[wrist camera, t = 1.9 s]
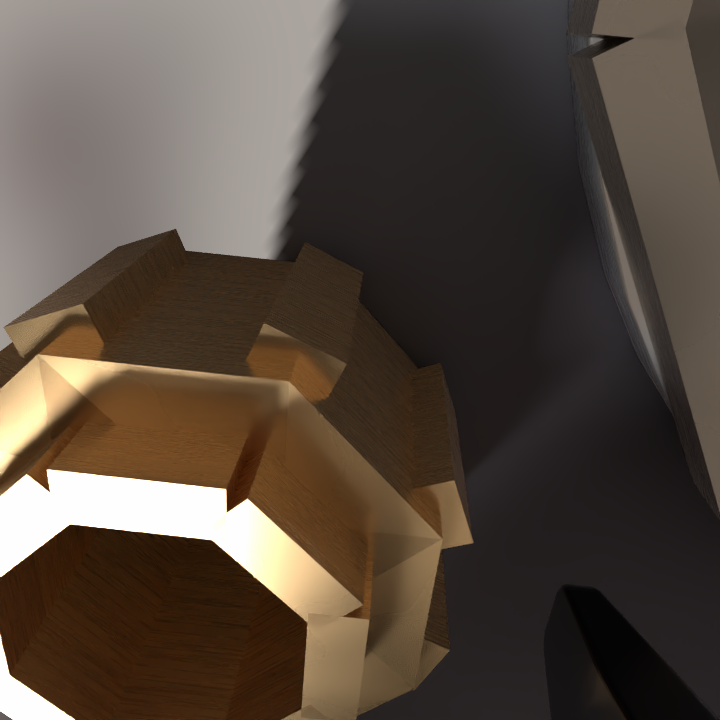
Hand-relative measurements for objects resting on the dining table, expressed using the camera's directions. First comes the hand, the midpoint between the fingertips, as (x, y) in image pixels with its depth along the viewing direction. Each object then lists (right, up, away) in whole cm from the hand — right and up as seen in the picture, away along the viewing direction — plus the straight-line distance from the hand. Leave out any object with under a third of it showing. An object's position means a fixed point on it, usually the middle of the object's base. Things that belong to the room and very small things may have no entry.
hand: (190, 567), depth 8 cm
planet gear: (0, +1, +3) cm, 3 cm away
